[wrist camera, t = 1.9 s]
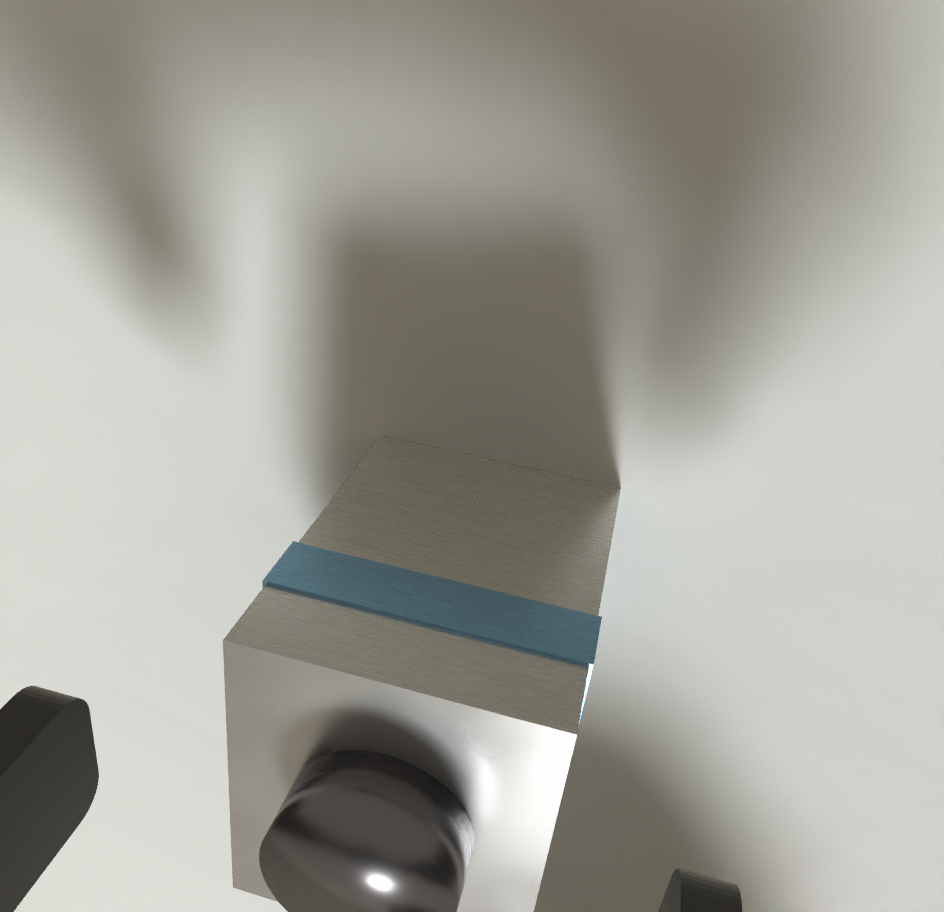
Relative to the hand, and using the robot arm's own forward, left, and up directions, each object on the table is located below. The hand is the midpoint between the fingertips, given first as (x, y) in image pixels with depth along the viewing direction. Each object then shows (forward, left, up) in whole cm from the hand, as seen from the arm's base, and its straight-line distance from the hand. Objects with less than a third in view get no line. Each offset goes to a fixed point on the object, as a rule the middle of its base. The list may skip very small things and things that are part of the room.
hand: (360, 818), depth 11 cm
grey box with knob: (0, 0, -6) cm, 6 cm away
